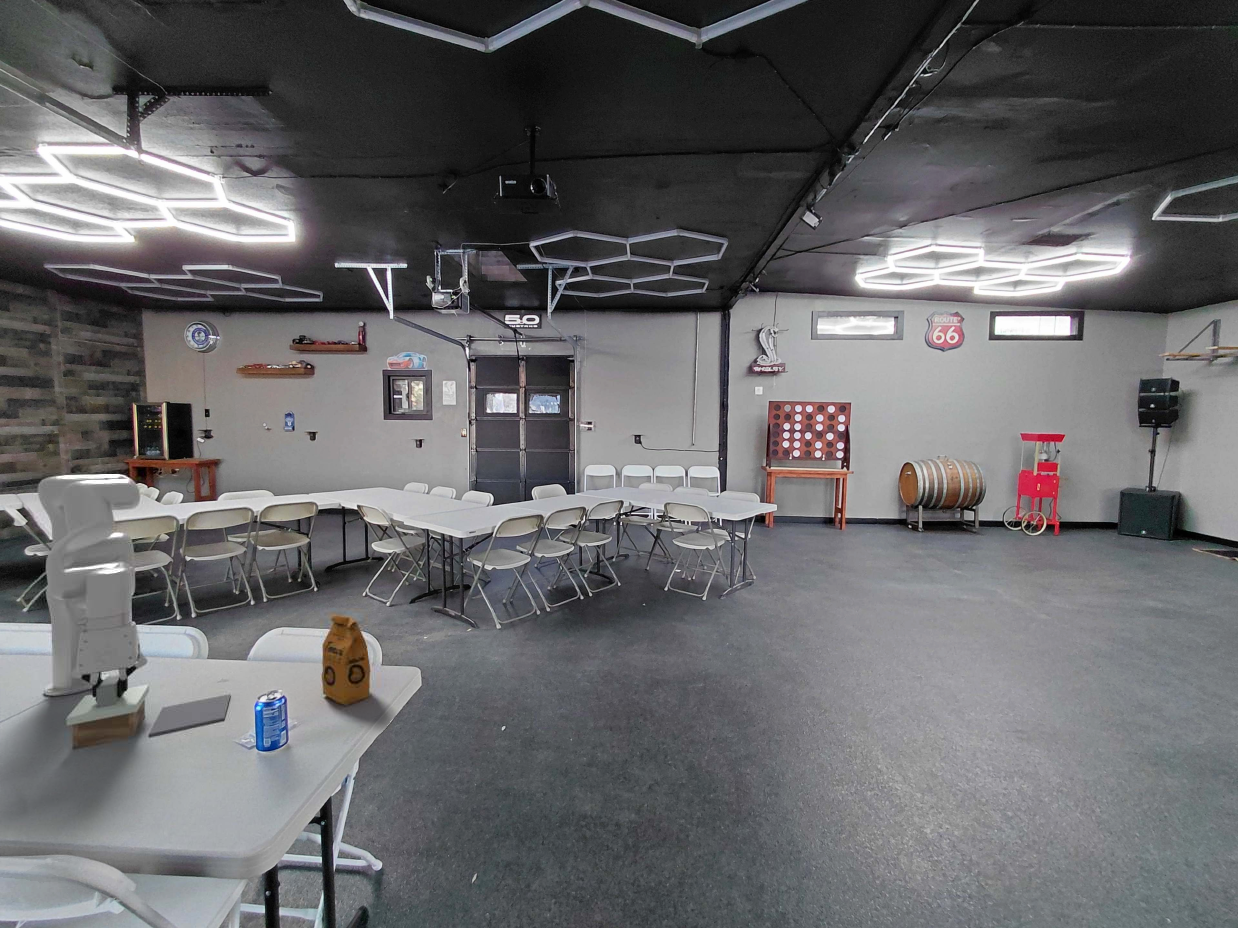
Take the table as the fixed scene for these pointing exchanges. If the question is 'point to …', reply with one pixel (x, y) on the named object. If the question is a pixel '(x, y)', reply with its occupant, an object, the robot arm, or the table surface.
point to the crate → (107, 728)
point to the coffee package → (345, 662)
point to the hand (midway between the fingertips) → (110, 696)
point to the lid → (108, 702)
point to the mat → (190, 714)
